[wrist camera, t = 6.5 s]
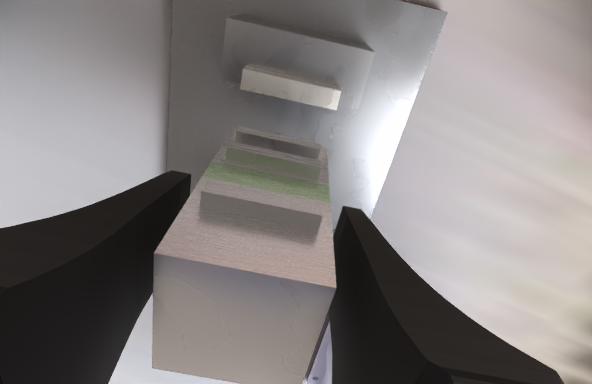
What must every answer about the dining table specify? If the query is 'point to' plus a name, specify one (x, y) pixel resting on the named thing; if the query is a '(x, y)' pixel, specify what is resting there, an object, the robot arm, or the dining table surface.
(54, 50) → the dining table surface
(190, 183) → the robot arm
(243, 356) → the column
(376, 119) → the stand
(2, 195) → the dining table surface
